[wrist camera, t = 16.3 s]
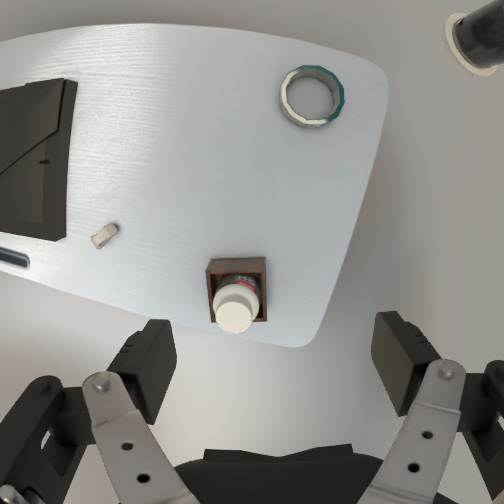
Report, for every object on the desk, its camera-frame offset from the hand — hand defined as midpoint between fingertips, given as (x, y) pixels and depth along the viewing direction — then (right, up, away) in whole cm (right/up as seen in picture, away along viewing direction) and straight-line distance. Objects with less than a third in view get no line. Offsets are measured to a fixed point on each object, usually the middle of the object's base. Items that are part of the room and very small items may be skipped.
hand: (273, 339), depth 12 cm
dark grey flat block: (-41, +19, +27) cm, 53 cm away
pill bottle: (-2, -1, +31) cm, 32 cm away
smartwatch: (-21, +6, +31) cm, 37 cm away
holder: (-2, -1, +32) cm, 32 cm away
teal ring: (+6, +22, +24) cm, 34 cm away
